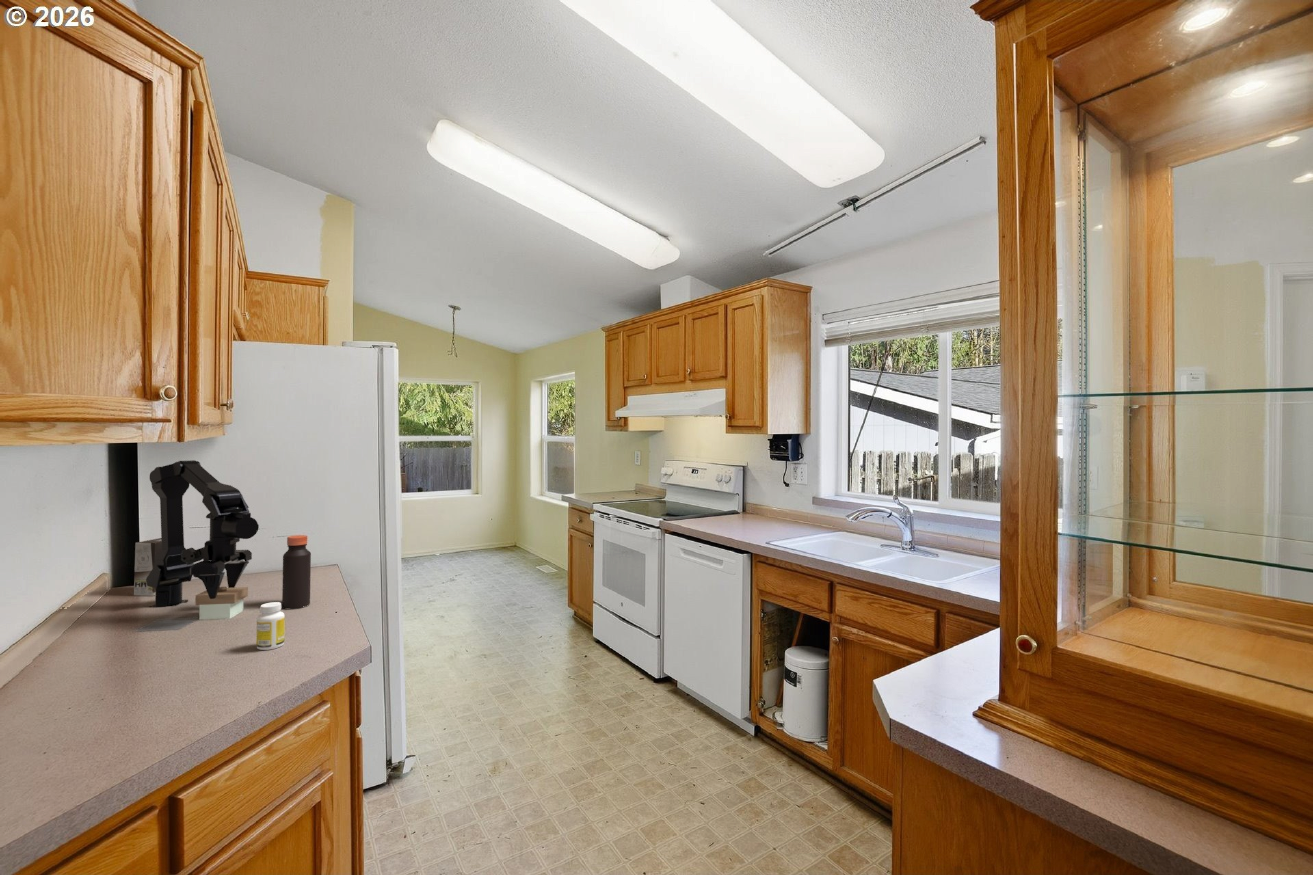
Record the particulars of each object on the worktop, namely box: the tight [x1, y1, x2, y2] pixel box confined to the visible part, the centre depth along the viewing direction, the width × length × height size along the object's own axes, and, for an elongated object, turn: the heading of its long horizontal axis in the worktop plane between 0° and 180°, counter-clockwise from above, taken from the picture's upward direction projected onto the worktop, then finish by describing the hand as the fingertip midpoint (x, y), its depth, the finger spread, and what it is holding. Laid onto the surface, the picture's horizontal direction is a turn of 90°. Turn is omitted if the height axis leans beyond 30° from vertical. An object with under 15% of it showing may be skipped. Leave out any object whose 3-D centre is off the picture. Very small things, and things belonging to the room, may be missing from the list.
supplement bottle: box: [256, 601, 286, 651], centre depth 132 cm, size 5×5×10 cm
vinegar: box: [281, 534, 312, 609], centre depth 163 cm, size 7×7×20 cm
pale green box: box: [198, 598, 244, 621], centre depth 152 cm, size 7×7×4 cm
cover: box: [194, 586, 249, 606], centre depth 152 cm, size 7×9×4 cm
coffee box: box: [133, 537, 162, 597], centre depth 174 cm, size 9×6×16 cm
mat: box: [132, 616, 199, 633], centre depth 144 cm, size 10×10×1 cm
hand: (222, 593), depth 152 cm, fingers open, 9 cm apart
